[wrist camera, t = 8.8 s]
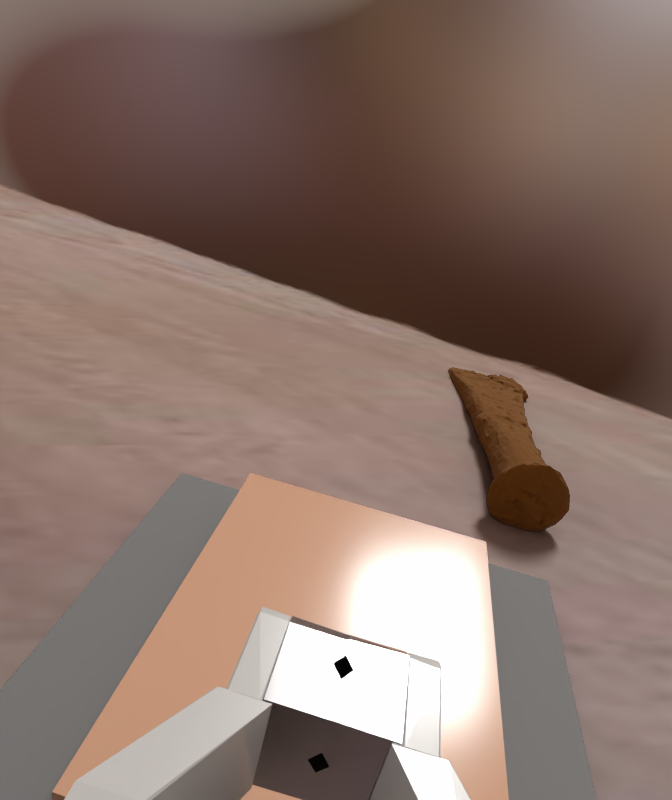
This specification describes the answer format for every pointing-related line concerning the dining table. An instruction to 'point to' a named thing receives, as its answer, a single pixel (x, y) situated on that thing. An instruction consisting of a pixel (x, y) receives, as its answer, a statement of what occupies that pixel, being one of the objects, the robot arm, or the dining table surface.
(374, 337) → the dining table surface
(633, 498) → the dining table surface
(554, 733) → the mat
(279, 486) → the tile
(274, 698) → the robot arm
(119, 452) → the dining table surface
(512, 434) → the primitive tool
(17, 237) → the dining table surface
